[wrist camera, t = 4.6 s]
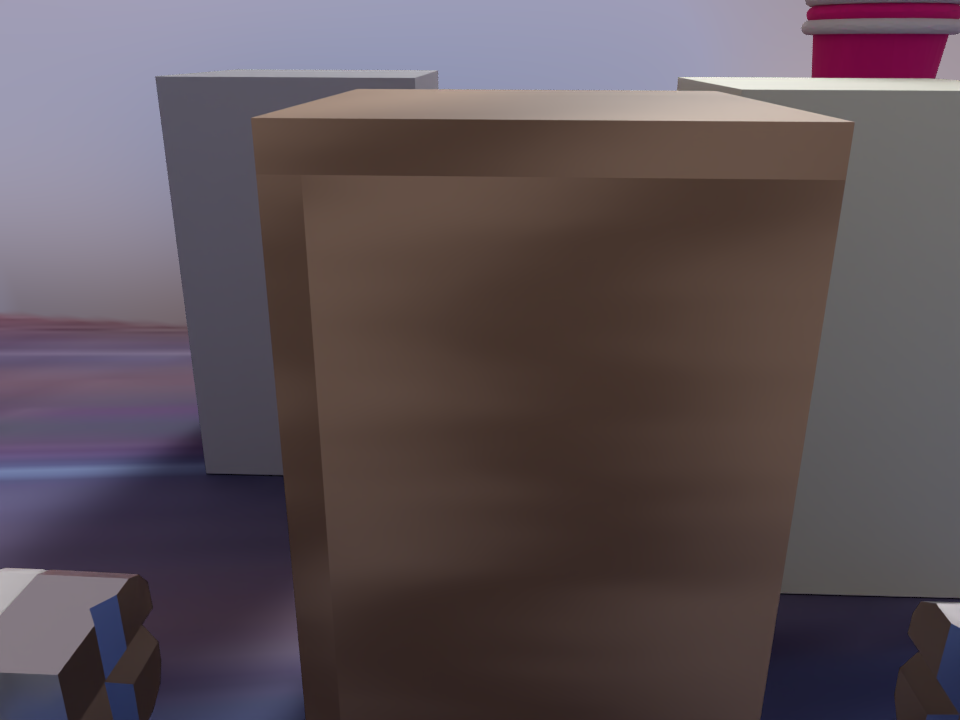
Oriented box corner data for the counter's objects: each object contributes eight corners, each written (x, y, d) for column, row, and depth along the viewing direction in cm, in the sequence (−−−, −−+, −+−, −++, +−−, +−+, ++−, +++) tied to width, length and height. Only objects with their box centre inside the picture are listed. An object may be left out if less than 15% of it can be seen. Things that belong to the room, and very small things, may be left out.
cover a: (318, 856, 13) (251, 118, 9) (380, 598, 19) (357, 88, 15) (735, 873, 13) (854, 122, 9) (665, 606, 19) (716, 91, 15)
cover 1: (206, 473, 24) (155, 76, 20) (267, 388, 30) (237, 69, 26) (424, 478, 24) (414, 77, 20) (442, 392, 30) (437, 70, 26)
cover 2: (687, 590, 19) (742, 89, 15) (646, 460, 25) (678, 77, 21) (970, 598, 19) (1100, 91, 15) (860, 465, 25) (932, 78, 21)
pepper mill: (713, 382, 31) (785, -260, 24) (745, 327, 37) (810, -198, 30) (929, 418, 28) (1085, -302, 21) (926, 352, 34) (1045, -223, 27)
